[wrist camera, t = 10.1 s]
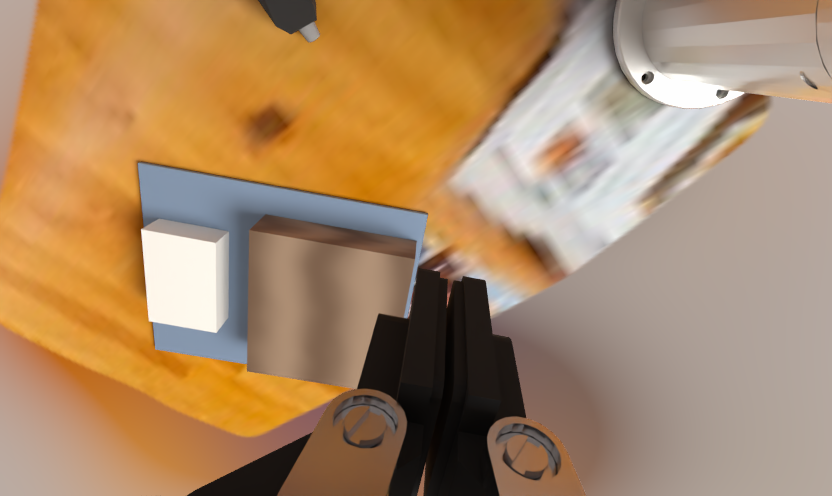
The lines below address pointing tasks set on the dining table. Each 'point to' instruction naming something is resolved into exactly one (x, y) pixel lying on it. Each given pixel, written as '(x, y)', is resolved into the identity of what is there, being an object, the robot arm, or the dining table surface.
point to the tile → (186, 274)
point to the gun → (293, 16)
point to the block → (320, 297)
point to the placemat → (237, 213)
